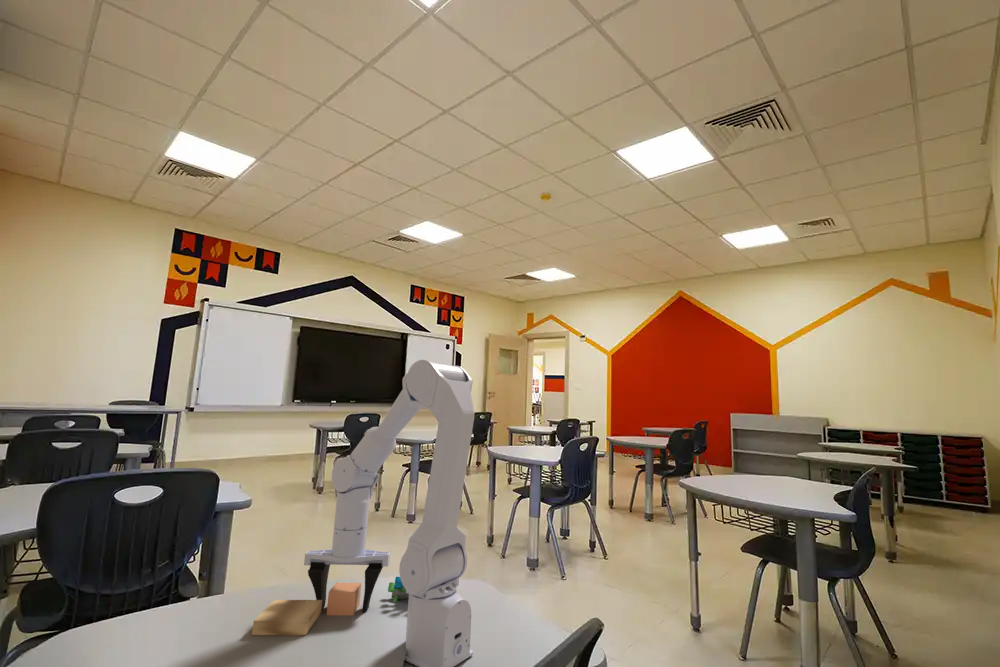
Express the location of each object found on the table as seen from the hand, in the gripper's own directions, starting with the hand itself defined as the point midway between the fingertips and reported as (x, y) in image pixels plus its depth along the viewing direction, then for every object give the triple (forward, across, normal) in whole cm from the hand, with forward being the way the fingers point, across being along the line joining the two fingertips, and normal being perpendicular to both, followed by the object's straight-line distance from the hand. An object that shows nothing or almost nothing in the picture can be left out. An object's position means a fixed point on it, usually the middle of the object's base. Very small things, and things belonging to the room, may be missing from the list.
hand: (343, 608), depth 80 cm
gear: (+2, -12, -5) cm, 13 cm away
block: (+2, 0, 0) cm, 2 cm away
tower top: (0, +7, +6) cm, 9 cm away
